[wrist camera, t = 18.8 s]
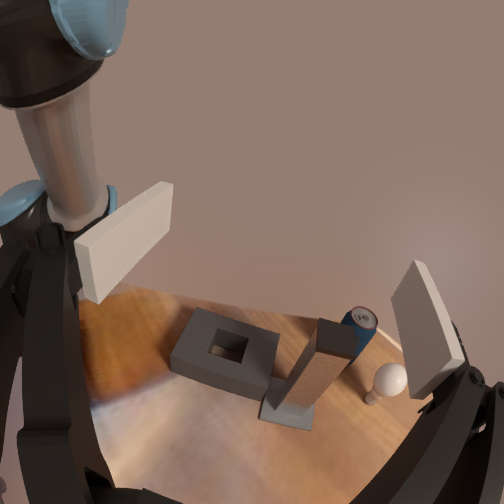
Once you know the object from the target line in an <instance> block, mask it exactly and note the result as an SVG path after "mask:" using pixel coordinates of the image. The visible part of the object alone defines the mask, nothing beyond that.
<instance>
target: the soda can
mask: <svg viewBox="0 0 504 504" xmlns="http://www.w3.org/2000/svg"><path fill="white" fill-rule="evenodd" d="M340 324H344V325H348V326H351V327H354V328H355V344H356V357H355V359H356V358H357V357H358V356H359V354H360V353H361V352H362V350H363V349H364V348H365V347H366V345H367V344H368V343H369V341H370V340H371V339H372V337H373V336H374V334H375V333H376V328H377V324H378V320H377V317H376V315H375V314H374V313H373V312H372V311H371V310H369V309H367V308H365V307H362V306H357V307H354V308H353V309H352V310H351V311H349V312H347V313H346V315H345V316H344V318H343V320H342V321H341V323H340ZM355 359H354V360H350V362H349V363H348V364H347V365H350V364H352V363H353V362H354V361H355Z"/></svg>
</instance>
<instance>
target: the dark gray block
mask: <svg viewBox="0 0 504 504" xmlns="http://www.w3.org/2000/svg"><path fill="white" fill-rule="evenodd" d="M279 336H280V334H279V333H275V332H272V331H268V330H265V329H262V328H259V327H255V326H252V325H249V324H246V323H243V322H240V321H236V320H233V319H230V318H227V317H224V316H221V315H218V314H215V313H212V312H210V311H207V310H204V309H201V308H198V307H197V308H196V309H195V311H194V313H193V315H192V317H191V318H190V320H189V322H188V324H187V326H186V327H185V329H184V331H183V333H182V335H181V336H180V338H179V340H178V342H177V344H176V346H175V347H174V349H173V351H172V353H171V355H170V368H171V371H172V372H175V373H177V374H180V375H182V376H185V377H187V378H190V379H193V380H195V381H198V382H201V383H204V384H206V385H209V386H212V387H215V388H218V389H221V390H224V391H227V392H230V393H234V394H237V395H240V396H243V397H247V398H250V399H254V400H257V401H261V399H262V398H263V396H264V394H265V393H266V391H267V389H268V386H269V382H270V377H271V373H272V369H273V364H274V360H275V355H276V350H277V346H278V341H279ZM214 344H215V345H218V346H221V347H224V348H227V349H230V350H233V351H236V352H239V353H242V354H244V355H243V358H242V361H241V364H240V363H237V362H234V361H231V360H228V359H225V358H222V357H219V356H216V355H213V354H210V353H211V351H212V349H213V346H214Z"/></svg>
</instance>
